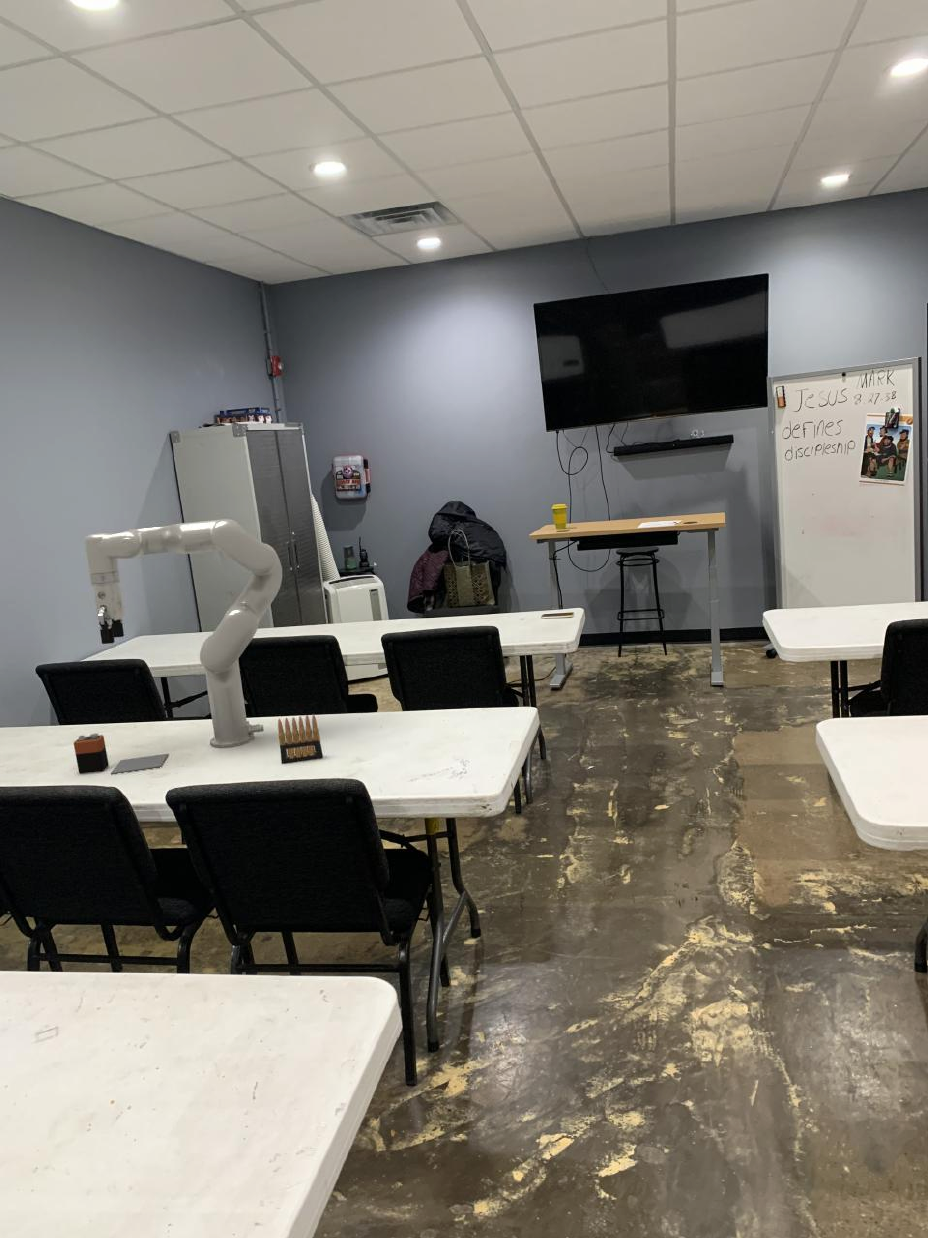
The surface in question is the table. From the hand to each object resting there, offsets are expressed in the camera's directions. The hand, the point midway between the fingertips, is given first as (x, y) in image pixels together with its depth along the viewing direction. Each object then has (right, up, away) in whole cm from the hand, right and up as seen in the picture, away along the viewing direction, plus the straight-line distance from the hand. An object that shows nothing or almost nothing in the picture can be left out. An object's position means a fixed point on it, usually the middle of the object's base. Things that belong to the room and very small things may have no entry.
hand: (113, 640), depth 239 cm
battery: (-4, -36, -3) cm, 36 cm away
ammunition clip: (+55, -31, -12) cm, 64 cm away
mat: (+8, -34, -2) cm, 35 cm away
